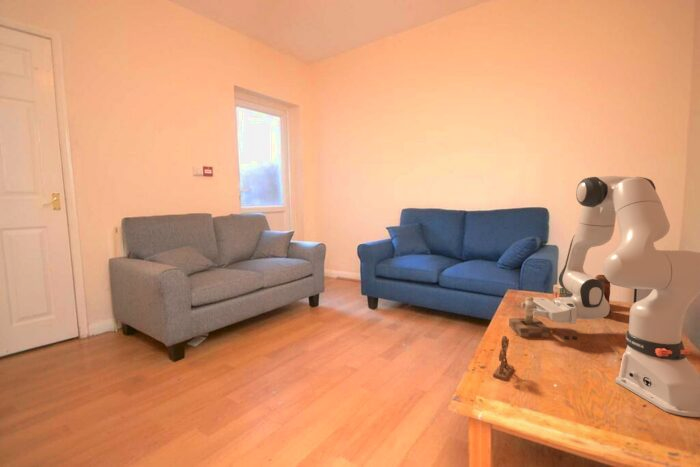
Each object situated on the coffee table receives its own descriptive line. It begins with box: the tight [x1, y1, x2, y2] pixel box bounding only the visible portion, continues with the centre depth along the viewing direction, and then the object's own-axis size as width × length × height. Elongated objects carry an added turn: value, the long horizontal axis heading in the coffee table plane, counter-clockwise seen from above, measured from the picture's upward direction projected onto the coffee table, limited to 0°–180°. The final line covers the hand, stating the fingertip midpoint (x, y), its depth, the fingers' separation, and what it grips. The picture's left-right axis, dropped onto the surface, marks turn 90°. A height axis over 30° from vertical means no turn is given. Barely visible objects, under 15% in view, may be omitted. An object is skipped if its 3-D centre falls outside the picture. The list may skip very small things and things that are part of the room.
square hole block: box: [508, 317, 551, 338], centre depth 135 cm, size 11×11×4 cm
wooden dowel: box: [524, 296, 534, 325], centre depth 135 cm, size 3×3×14 cm
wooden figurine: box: [594, 274, 611, 318], centre depth 152 cm, size 12×6×18 cm, turn 143°
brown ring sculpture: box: [492, 335, 515, 382], centre depth 104 cm, size 9×4×12 cm, turn 140°
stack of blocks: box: [552, 284, 573, 301], centre depth 166 cm, size 21×6×12 cm, turn 85°
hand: (527, 308), depth 134 cm, fingers open, 8 cm apart
